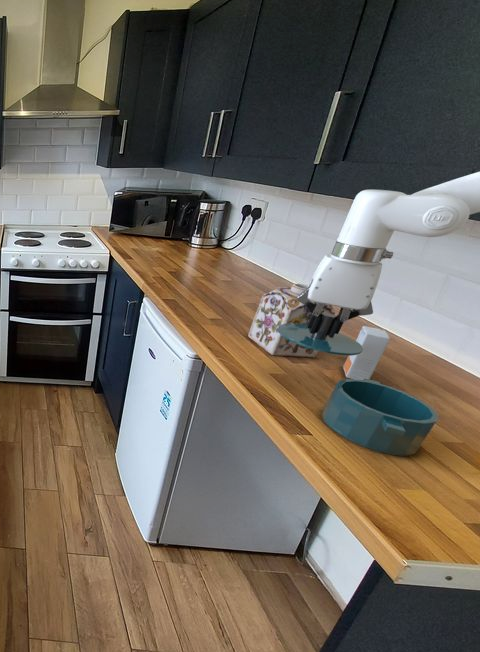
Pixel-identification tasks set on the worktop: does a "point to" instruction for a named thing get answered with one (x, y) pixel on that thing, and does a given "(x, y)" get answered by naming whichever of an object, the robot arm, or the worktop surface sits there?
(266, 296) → the decorative jar
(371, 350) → the cosmetic box
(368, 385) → the pot
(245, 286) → the worktop surface
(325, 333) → the lid
